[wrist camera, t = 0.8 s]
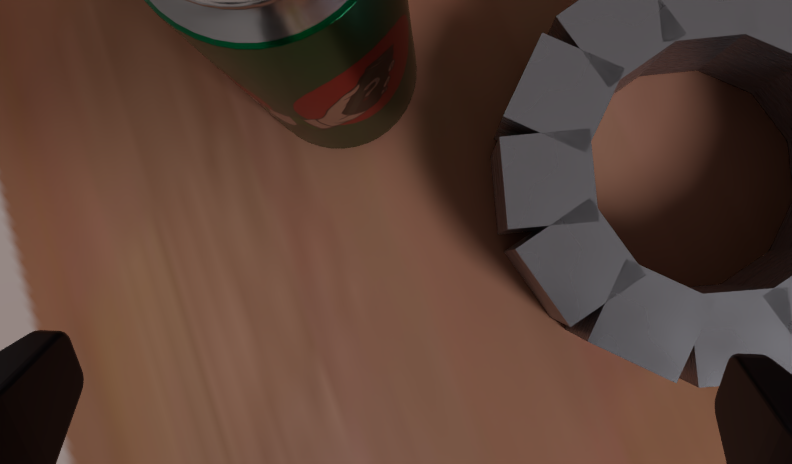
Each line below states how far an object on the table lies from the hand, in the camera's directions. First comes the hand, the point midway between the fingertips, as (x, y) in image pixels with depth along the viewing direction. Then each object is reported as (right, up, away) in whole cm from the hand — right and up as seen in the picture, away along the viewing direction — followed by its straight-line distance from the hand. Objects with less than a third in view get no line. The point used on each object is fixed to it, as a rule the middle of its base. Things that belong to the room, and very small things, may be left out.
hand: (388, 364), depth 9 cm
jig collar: (+9, +4, +13) cm, 16 cm away
